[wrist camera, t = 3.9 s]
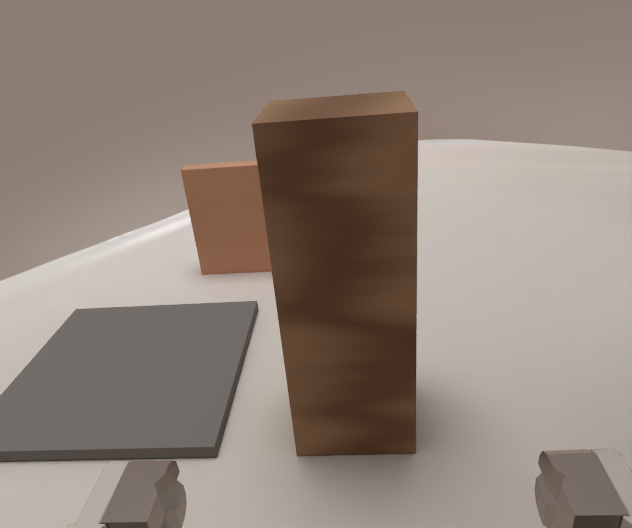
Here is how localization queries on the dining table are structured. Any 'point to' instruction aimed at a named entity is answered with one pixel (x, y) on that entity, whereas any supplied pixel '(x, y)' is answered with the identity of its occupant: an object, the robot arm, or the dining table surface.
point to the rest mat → (129, 384)
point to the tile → (227, 217)
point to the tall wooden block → (344, 265)
